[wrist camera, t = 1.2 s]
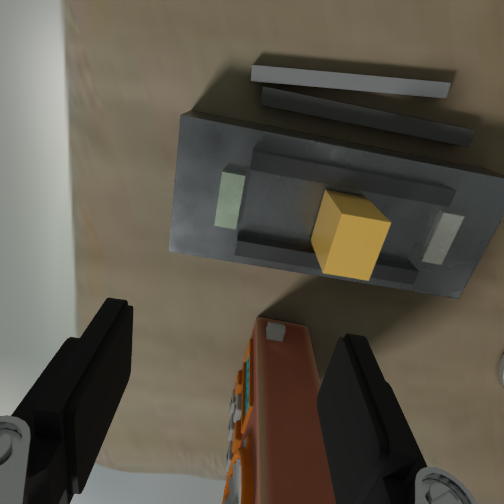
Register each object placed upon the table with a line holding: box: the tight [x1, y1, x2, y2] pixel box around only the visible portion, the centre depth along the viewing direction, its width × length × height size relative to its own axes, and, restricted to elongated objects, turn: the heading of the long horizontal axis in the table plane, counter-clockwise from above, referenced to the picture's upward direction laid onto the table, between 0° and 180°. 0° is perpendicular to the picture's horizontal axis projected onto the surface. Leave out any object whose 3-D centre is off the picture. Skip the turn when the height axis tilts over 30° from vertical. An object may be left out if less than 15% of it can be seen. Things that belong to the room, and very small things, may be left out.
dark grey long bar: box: [260, 86, 476, 147], centre depth 26 cm, size 16×1×1 cm, turn 79°
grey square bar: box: [251, 65, 451, 98], centre depth 25 cm, size 14×1×1 cm, turn 85°
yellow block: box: [311, 189, 391, 281], centre depth 23 cm, size 3×4×5 cm
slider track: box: [169, 110, 504, 299], centre depth 27 cm, size 24×10×5 cm, turn 79°
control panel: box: [222, 317, 336, 504], centre depth 28 cm, size 21×7×15 cm
